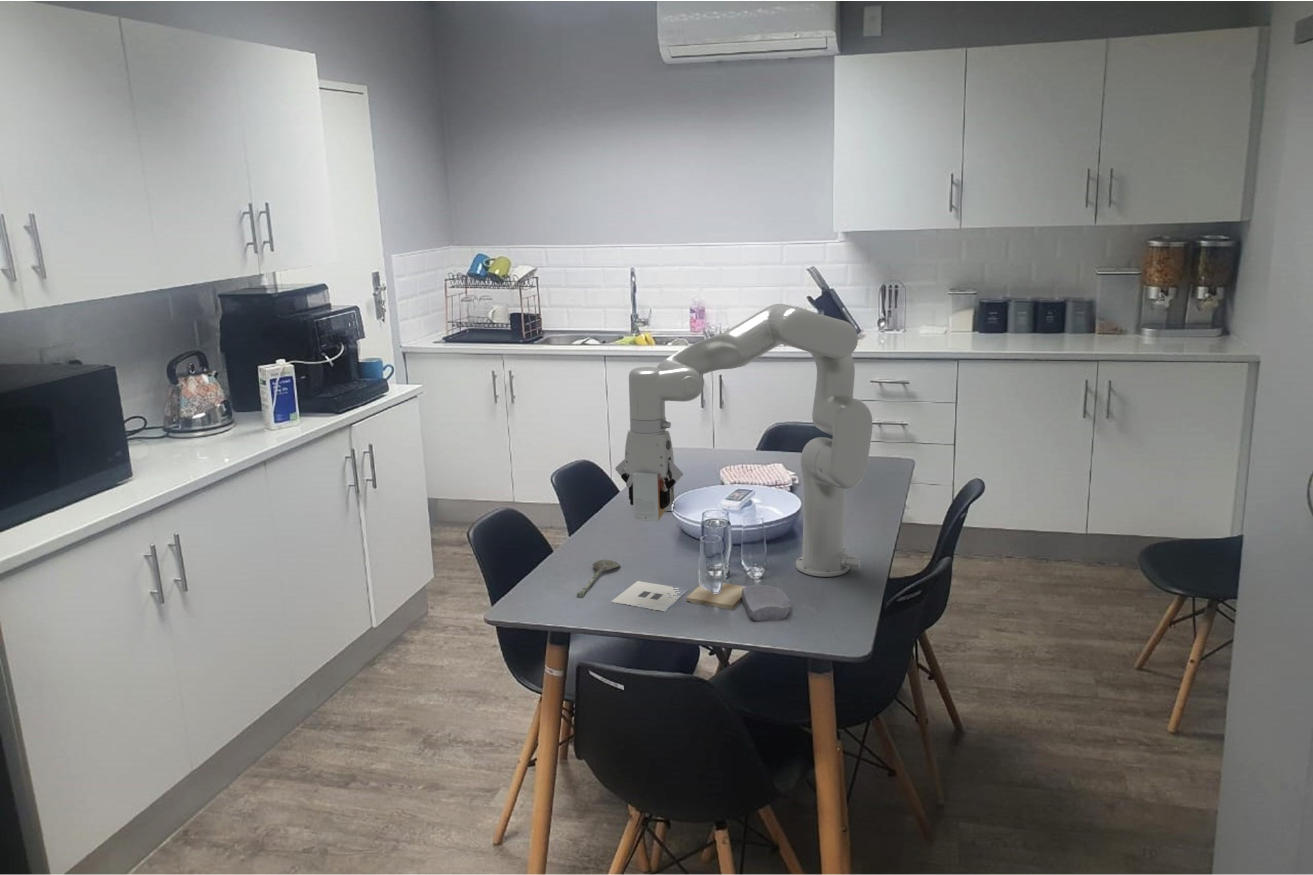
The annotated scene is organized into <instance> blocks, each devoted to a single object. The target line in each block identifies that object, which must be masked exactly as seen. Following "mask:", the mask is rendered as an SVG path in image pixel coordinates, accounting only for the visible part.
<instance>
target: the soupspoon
mask: <svg viewBox="0 0 1313 875" xmlns="http://www.w3.org/2000/svg"><path fill="white" fill-rule="evenodd" d="M592 566H593V568H594V569H596V570H597V571H596V572H595V573H594V574H593V576H592V577H591V579H590V580H589V581H588V582H587V584H586V585H585V586H584V587H583V588H582V590H581V591H579V592H577V593H576V598H585V593H586V591H588V588H589V587H590V586H591V585H592V583H593V582H594V581H595V580H596V579H597V577H598V576H599V575H600V574H601V573H602V572H606V571H609V570H612V569H616V568H618V567H620V566H621V564H620V563H618V562H617V561H614V560H610V559H601V560H597V561H595V562H594V563H592Z"/></svg>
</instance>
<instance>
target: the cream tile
mask: <svg viewBox="0 0 1313 875" xmlns="http://www.w3.org/2000/svg"><path fill="white" fill-rule="evenodd" d="M673 587H674V586H670V585H665V584H658V583H651V582H646V581H639V580H637V581H636V582H634V583H633V584H632V585H630V586H629V587H628V588H627V589H625V590H624V591H623V592H622V593H620V594H619V595H618V596H616V597H615V598H614V599H612V600H611V601H610V603H614V604H617V603H618V605H623V604H627V605H626V606H628V605H631V606H630V607H634V606H638V607H637V608H639V607H640V606H655V607H644V608H643V609H645V608H649V609H648V610H650V609H653V610H652V611H656V610H662V611H665V610H666V611H668V609H660V608H668V607H666V606H671V605H668V604H673V605H674V604H676V603H677V602H678V601H677V600H675V599H679V598H677V597H681V596H673V595H677V593H680V592H676V593H675V591H679V590H673V589H679V588H680V587H676V588H673ZM653 593H656V594H653ZM667 593H670V594H667ZM662 595H663V596H662ZM669 595H671V596H669ZM668 597H673V598H668ZM681 598H682V597H681ZM679 600H680V599H679ZM676 601H677V602H676ZM637 604H643V605H637ZM657 604H666V605H657ZM671 607H672V606H671ZM666 611H665V612H666Z"/></svg>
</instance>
